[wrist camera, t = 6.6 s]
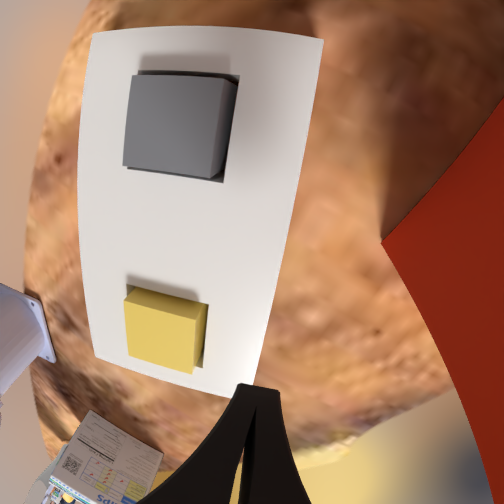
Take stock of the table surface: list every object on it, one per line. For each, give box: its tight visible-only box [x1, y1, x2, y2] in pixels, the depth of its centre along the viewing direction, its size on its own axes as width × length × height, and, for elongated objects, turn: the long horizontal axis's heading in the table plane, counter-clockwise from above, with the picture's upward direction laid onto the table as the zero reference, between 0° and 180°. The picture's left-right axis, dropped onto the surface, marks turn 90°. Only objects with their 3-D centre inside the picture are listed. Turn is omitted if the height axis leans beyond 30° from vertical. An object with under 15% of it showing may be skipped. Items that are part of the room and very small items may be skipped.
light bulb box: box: [49, 410, 164, 504], centre depth 27 cm, size 11×7×11 cm, turn 55°
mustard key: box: [123, 286, 208, 375], centre depth 19 cm, size 4×4×3 cm
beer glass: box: [24, 440, 76, 504], centre depth 30 cm, size 7×7×15 cm
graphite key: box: [122, 75, 238, 178], centre depth 14 cm, size 4×4×3 cm
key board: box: [78, 26, 324, 398], centre depth 18 cm, size 12×22×3 cm, turn 171°
